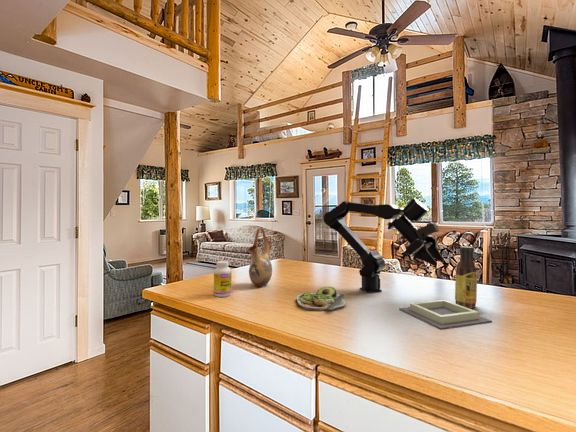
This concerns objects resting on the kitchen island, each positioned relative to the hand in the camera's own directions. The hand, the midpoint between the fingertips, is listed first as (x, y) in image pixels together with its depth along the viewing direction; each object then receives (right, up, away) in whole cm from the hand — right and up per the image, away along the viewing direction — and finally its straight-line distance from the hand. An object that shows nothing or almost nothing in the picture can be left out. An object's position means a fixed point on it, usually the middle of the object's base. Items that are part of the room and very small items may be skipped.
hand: (439, 263), depth 111 cm
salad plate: (-41, -15, +1) cm, 44 cm away
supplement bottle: (-78, -14, +12) cm, 80 cm away
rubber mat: (-6, -14, -14) cm, 20 cm away
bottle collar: (-6, -14, -14) cm, 20 cm away
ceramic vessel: (-65, -14, +26) cm, 71 cm away
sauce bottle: (+6, -14, -5) cm, 16 cm away
